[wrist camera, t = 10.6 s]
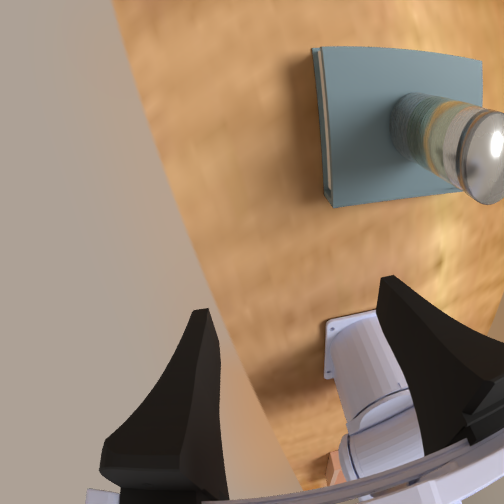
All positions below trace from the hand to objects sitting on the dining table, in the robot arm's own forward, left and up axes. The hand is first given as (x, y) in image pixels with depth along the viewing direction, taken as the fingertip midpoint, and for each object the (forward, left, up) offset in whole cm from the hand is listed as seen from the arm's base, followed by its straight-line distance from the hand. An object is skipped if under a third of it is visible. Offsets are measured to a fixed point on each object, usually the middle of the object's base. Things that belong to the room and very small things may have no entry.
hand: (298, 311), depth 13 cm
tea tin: (+5, -10, -8) cm, 14 cm away
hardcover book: (+5, -10, -11) cm, 15 cm away
